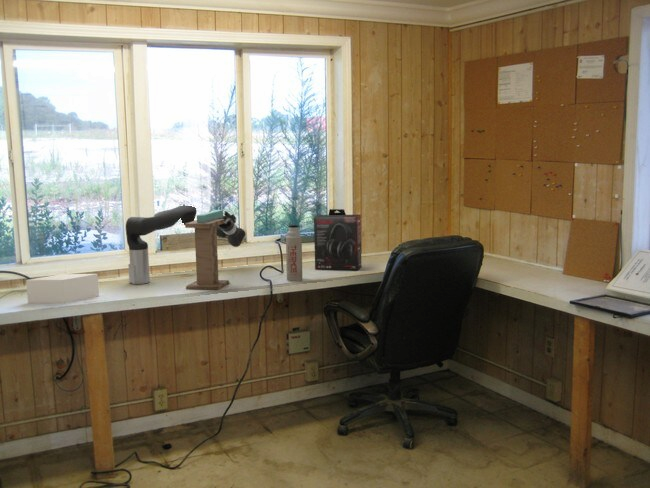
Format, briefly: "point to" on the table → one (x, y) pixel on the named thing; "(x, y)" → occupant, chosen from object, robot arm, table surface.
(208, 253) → the walnut stand
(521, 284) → the table surface
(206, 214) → the teal bar
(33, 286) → the block
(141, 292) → the table surface
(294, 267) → the thermos bottle
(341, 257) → the headset box
